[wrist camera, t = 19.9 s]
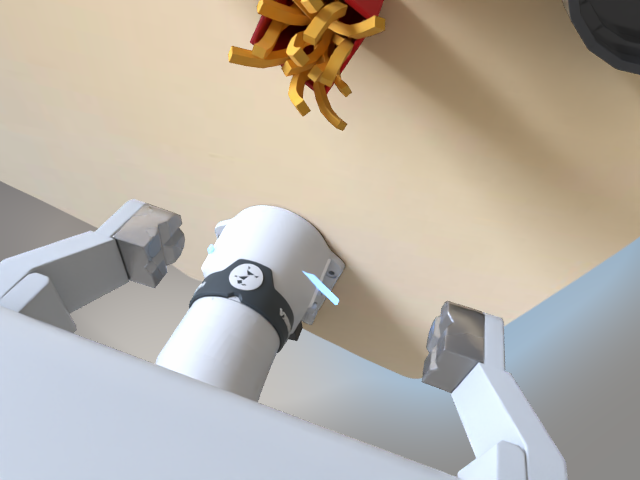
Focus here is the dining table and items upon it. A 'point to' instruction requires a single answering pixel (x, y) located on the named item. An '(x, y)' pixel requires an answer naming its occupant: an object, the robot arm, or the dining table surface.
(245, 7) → the dining table surface
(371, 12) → the french fries
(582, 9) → the pan
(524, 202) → the dining table surface
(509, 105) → the dining table surface
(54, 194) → the dining table surface
